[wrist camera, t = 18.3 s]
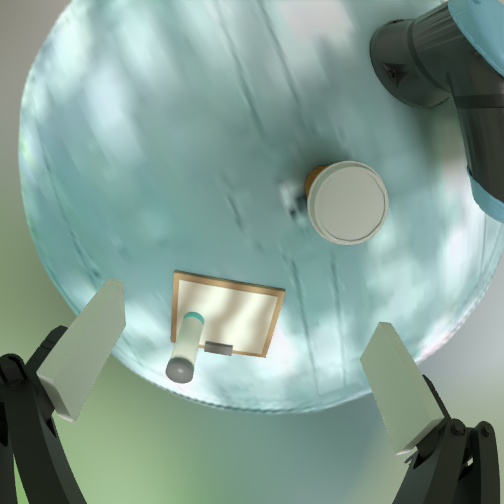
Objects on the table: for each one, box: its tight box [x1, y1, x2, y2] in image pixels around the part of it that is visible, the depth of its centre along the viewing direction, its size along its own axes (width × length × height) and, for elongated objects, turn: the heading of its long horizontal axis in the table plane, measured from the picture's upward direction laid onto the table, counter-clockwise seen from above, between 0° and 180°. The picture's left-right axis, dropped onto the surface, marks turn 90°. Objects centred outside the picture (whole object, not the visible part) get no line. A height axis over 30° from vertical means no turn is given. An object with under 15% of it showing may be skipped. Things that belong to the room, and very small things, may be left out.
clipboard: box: [171, 270, 285, 358], centre depth 47 cm, size 18×15×2 cm
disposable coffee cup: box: [304, 161, 389, 245], centre depth 33 cm, size 10×10×12 cm
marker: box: [166, 312, 204, 383], centre depth 41 cm, size 4×4×13 cm
